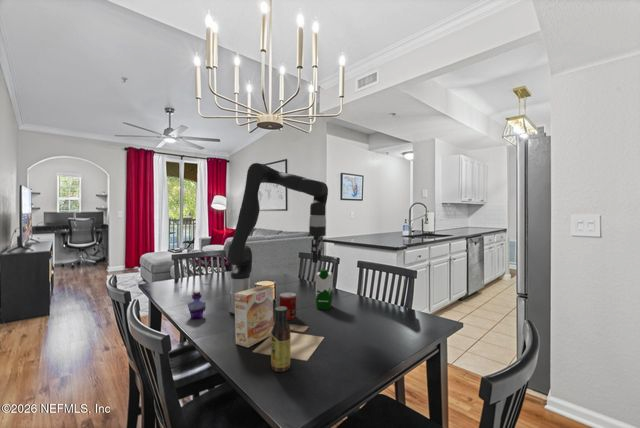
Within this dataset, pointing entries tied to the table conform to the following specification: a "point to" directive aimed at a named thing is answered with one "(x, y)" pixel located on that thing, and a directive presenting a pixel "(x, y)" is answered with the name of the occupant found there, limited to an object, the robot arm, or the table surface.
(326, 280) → the milk carton
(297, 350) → the cork mat
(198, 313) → the potion bottle
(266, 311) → the coffeecake box
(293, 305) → the canned food
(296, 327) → the walnut turner
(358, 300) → the table surface
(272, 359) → the sauce bottle
